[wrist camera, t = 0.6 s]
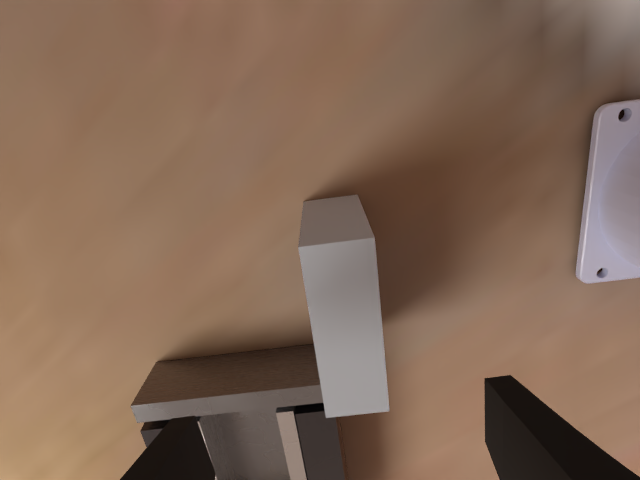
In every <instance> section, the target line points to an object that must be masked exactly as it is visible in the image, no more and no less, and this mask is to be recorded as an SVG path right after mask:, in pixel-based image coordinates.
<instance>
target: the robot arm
mask: <svg viewBox="0 0 640 480" xmlns="http://www.w3.org/2000/svg"><path fill="white" fill-rule="evenodd" d="M622 109H623V110H624V113H625V114H624V116H623V118H622V119H621V120H619V119H618V115H619V112H620V111H621V110H622ZM601 268H602V271H601V272H600V273H599V274H597V271H598V270H599V269H601ZM576 276H577V278H578V279H579V280H581V281H582V282H584V283H597V282H606V281H614V280H623V279H631V278H640V99H636V100H629V101H621V102H614V103H607V104H604V105H602V106H601V107H599V108H598V110H597V111H596V112H595V115H594V119H593V127H592V136H591V145H590V153H589V162H588V170H587V179H586V188H585V196H584V205H583V214H582V222H581V231H580V239H579V248H578V257H577V265H576ZM485 442H486V445H487V448H488V450H489V453H490V455H491V458H492V461H493V463H494V466H495V469H496V471H497V474H498V476H499V479H500V480H640V477H639V476H637V475H636V474H635V473H633V472H632V471H630V470H629V469H628V468H626V467H625V466H623V465H622V464H621V463H619V462H618V461H617V460H615V459H614V458H613V457H611V456H610V455H609V454H607V453H606V452H605V451H603V450H602V449H601V448H600V447H598V446H597V445H596V444H594V443H593V442H592V441H591V440H589V439H588V438H587V437H585V436H584V435H583V434H582V433H580V432H579V431H578V430H576V429H575V428H574V427H573V426H571V425H570V424H569V423H568V422H566V421H565V420H564V419H563V418H562V417H560V416H559V415H558V414H557V413H555V412H554V411H553V410H552V409H551V408H549V407H548V406H547V405H546V404H545V403H543V402H542V401H541V400H540V399H539V398H537V397H536V396H535V395H534V394H533V393H531V392H530V391H529V390H528V389H527V388H525V387H524V386H523V385H522V384H521V383H519V382H518V381H517V380H516V379H515V378H513V377H512V376H511V375H508V376H500V377H492V378H485ZM215 475H216V473H215V470H214V467H213V464H212V462H211V459H210V456H209V453H208V450H207V447H206V445H205V442H204V439H203V436H202V433H201V431H200V428H199V425H198V422H197V419H196V416H187V417H180V418H172V419H171V420H170V421H169V422H168V423H167V425H166V426H165V427H164V428H163V429H162V430H161V432H160V433H159V434H158V435H157V436H156V437H155V439H154V440H153V441H152V442H151V443H150V445H149V446H148V447H147V448H146V449H145V451H144V452H143V453H142V454H141V455H140V457H139V458H138V459H137V460H136V461H135V463H134V464H133V465H132V466H131V467H130V469H129V470H128V471H127V472H126V473H125V474H124V476H123V477H122V478H121V479H120V480H215Z"/></svg>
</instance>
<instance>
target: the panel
mask: <svg viewBox="0 0 640 480" xmlns="http://www.w3.org/2000/svg"><path fill="white" fill-rule="evenodd" d="M298 248H299V254H300V260H301V266H302V272H303V279H304V285H305V291H306V297H307V304H308V310H309V316H310V322H311V328H312V335H313V341H314V347H315V353H316V359H317V366H318V372H319V378H320V384H321V391H322V397H323V403H324V409H325V415H326V418H331V417H341V416H350V415H359V414H369V413H378V412H387V411H389V399H388V387H387V376H386V364H385V352H384V340H383V328H382V317H381V305H380V293H379V281H378V270H377V258H376V246H375V237H374V234H373V232H372V229H371V227H370V224H369V222H368V219H367V217H366V214H365V212H364V209H363V207H362V204H361V202H360V199H359V197H358V194H357V195H350V196H342V197H334V198H326V199H318V200H311V201H304V202H303V211H302V220H301V229H300V238H299V246H298Z"/></svg>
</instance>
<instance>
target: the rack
mask: <svg viewBox="0 0 640 480" xmlns="http://www.w3.org/2000/svg"><path fill="white" fill-rule="evenodd" d="M131 408H132V411H133V413H134V416H135V418H136V421H137V423H140V422H145V423H144V425H143V427H142V429H141V434H142V436H143V439H144V442H145V444H146V447H148V446H149V445H150V443H151V442H152V441H153V440H154V439H155V437H156V436H157V435H158V434H159V433H160V432H161V430H162V429H163V428H164V427H165V426H166V425H167V423H168V422H169V421H170V420H171V419H172V418H180V417H187V416H196V419H197V422H198V425H199V428H200V431H201V433H202V436H203V439H204V442H205V445H206V447H207V450H208V453H209V456H210V459H211V462H212V464H213V467H214V470H215V473H216V475H215V480H348V473H347V466H346V460H345V453H344V446H343V439H342V432H341V425H340V418H339V417H331V418H326V415H325V409H324V403H323V397H322V391H321V384H320V378H319V372H318V366H317V359H316V353H315V347H314V344H311V345H302V346H293V347H285V348H276V349H267V350H259V351H250V352H241V353H232V354H224V355H215V356H206V357H198V358H189V359H180V360H171V361H163V362H156V363H155V365H154V367H153V369H152V370H151V372H150V374H149V375H148V377H147V379H146V381H145V382H144V384H143V386H142V387H141V389H140V391H139V392H138V394H137V396H136V398H135V399H134V401H133V403H132V404H131Z"/></svg>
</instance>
